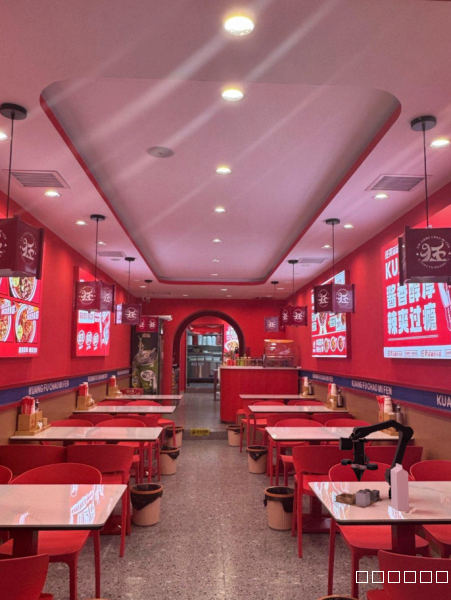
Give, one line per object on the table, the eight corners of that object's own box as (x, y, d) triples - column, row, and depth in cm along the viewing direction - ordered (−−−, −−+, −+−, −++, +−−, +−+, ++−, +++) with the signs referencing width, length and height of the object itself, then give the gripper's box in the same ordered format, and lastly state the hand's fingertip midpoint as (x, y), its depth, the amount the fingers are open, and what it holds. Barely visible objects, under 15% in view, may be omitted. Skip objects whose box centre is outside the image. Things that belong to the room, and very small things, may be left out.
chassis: (382, 501, 245) (382, 490, 246) (364, 510, 229) (364, 498, 230) (354, 495, 256) (354, 484, 256) (334, 504, 239) (334, 492, 240)
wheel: (376, 498, 246) (376, 489, 246) (373, 500, 242) (373, 491, 243) (366, 496, 249) (366, 487, 250) (362, 497, 246) (362, 489, 247)
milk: (402, 509, 233) (401, 463, 236) (409, 513, 227) (408, 465, 230) (391, 509, 232) (390, 463, 235) (397, 513, 226) (396, 465, 229)
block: (369, 504, 235) (369, 490, 236) (365, 506, 231) (365, 492, 232) (360, 502, 238) (360, 488, 239) (355, 504, 234) (355, 490, 235)
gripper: (382, 451, 252) (382, 482, 250) (349, 447, 265) (350, 476, 262) (373, 454, 244) (373, 485, 242) (340, 449, 256) (340, 479, 254)
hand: (359, 481), depth 250 cm, fingers closed
